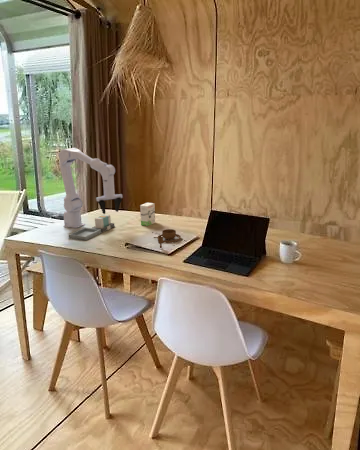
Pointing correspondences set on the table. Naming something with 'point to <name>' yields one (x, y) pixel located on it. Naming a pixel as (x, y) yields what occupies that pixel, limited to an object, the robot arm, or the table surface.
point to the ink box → (147, 214)
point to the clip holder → (105, 227)
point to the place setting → (168, 236)
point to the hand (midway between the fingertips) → (110, 212)
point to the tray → (85, 233)
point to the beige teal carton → (102, 221)
